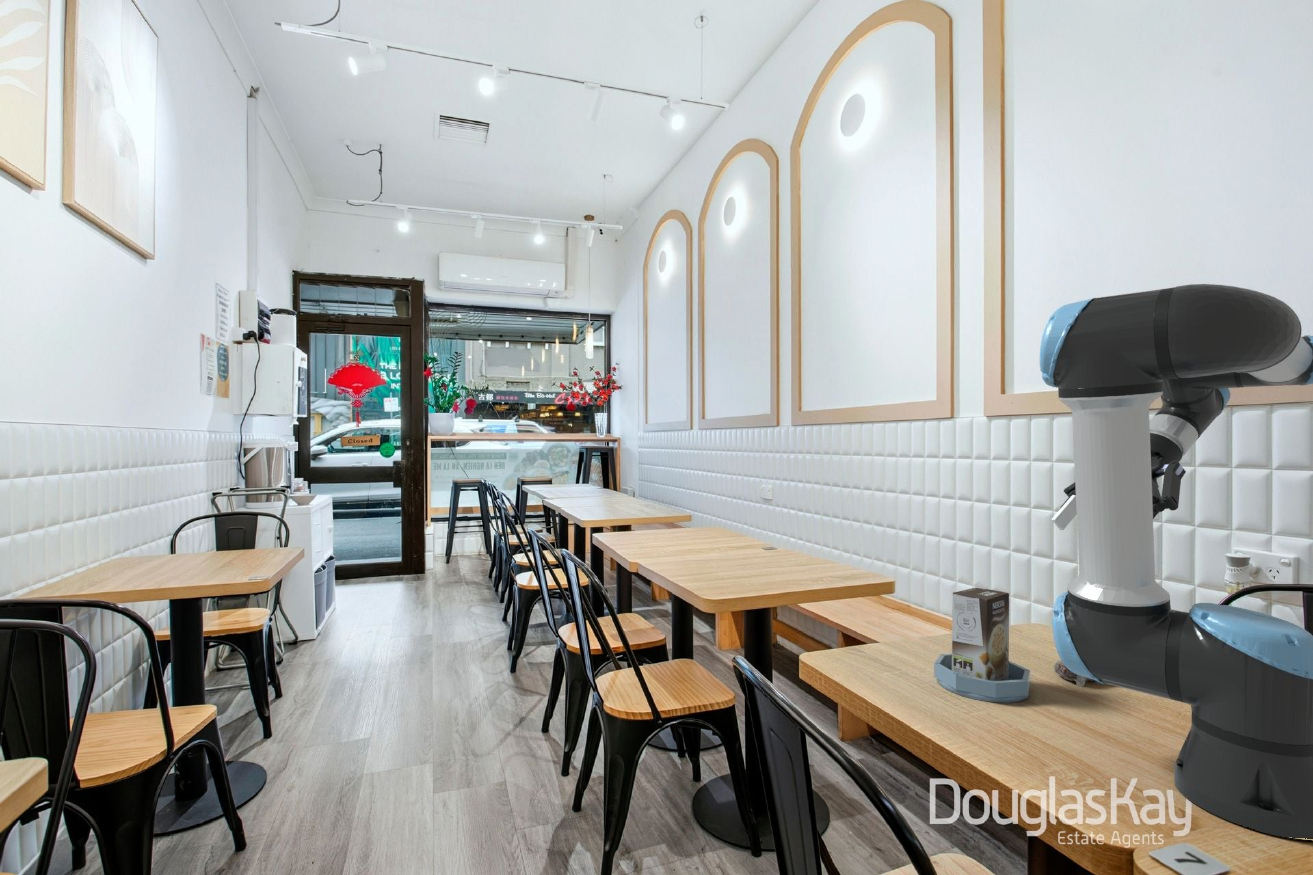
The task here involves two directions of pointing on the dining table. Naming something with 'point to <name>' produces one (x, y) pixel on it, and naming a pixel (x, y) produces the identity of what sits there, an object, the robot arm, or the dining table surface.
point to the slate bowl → (983, 683)
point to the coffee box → (981, 634)
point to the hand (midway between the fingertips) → (1089, 529)
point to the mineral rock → (1070, 674)
